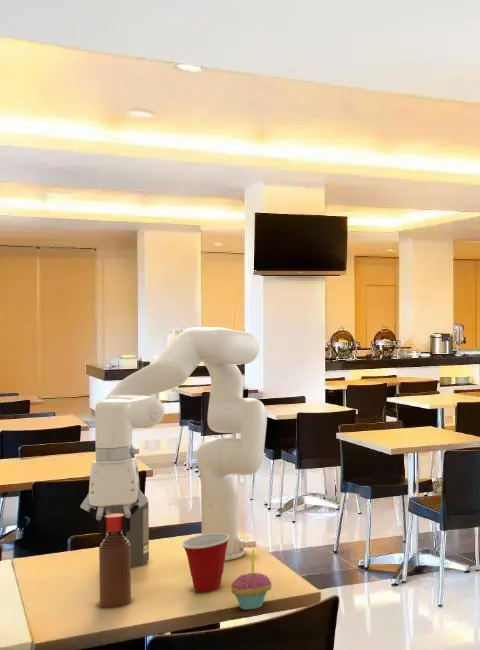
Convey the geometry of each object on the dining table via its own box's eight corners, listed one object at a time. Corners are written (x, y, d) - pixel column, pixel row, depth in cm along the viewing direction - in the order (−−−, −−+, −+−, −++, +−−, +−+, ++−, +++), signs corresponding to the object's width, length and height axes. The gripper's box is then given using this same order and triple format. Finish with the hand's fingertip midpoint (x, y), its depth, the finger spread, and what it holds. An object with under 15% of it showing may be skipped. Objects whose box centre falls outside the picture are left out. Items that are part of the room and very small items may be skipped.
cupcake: (236, 600, 197) (236, 547, 197) (274, 599, 198) (274, 546, 198) (227, 613, 189) (227, 558, 189) (267, 612, 189) (267, 556, 189)
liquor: (113, 571, 221) (112, 452, 221) (104, 563, 228) (103, 448, 229) (151, 564, 227) (150, 449, 227) (140, 556, 234) (140, 445, 234)
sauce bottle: (133, 597, 200) (132, 514, 200) (128, 606, 194) (127, 520, 194) (102, 599, 199) (102, 516, 199) (96, 608, 193) (96, 522, 193)
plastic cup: (175, 587, 207) (175, 537, 207) (221, 579, 214) (220, 530, 214) (190, 599, 198) (189, 546, 198) (237, 589, 205) (236, 538, 205)
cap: (124, 530, 196) (124, 516, 196) (104, 532, 194) (104, 518, 194) (124, 526, 199) (124, 512, 199) (105, 528, 198) (105, 514, 198)
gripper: (155, 449, 203) (156, 528, 203) (76, 453, 198) (77, 534, 198) (151, 454, 195) (152, 536, 195) (69, 459, 191) (70, 542, 191)
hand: (114, 534), depth 197 cm, fingers closed on cap, 3 cm apart
